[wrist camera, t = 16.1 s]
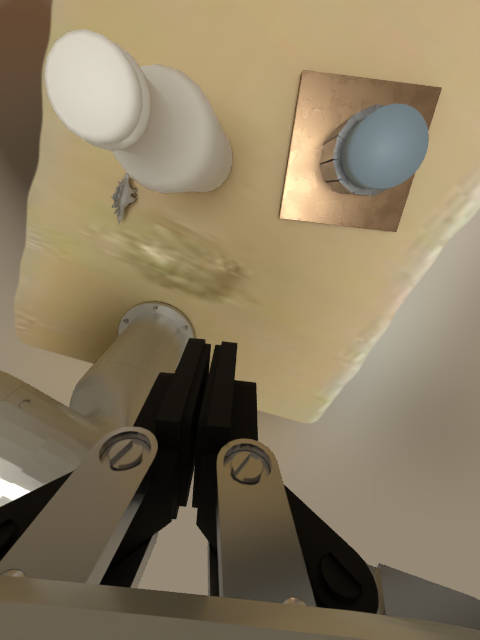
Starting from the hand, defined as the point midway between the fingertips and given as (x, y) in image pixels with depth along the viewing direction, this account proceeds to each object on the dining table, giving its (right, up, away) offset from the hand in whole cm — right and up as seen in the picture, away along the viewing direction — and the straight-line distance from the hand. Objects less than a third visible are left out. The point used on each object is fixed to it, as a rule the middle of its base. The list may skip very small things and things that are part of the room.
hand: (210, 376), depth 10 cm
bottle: (-4, +23, +28) cm, 37 cm away
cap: (+15, +21, +24) cm, 35 cm away
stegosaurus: (-14, +19, +31) cm, 39 cm away
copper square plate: (+15, +23, +28) cm, 39 cm away
